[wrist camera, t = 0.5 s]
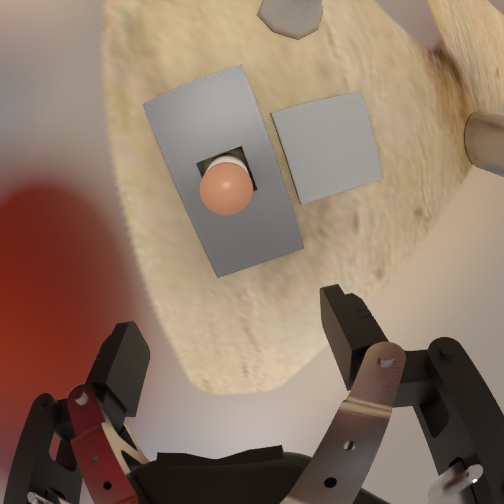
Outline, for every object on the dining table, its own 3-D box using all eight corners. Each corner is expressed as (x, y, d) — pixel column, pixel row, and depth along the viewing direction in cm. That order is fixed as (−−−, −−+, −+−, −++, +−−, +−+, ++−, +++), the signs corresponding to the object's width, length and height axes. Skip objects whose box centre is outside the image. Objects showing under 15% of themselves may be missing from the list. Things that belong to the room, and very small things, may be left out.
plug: (238, 147, 28) (242, 155, 19) (250, 180, 30) (260, 204, 21) (204, 160, 28) (191, 175, 19) (217, 192, 30) (211, 222, 21)
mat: (359, 91, 26) (361, 91, 25) (380, 177, 30) (382, 178, 30) (270, 113, 27) (271, 112, 26) (300, 203, 31) (301, 205, 31)
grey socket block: (240, 72, 24) (241, 64, 21) (296, 234, 33) (304, 248, 29) (153, 106, 25) (142, 104, 22) (218, 261, 34) (217, 277, 30)
